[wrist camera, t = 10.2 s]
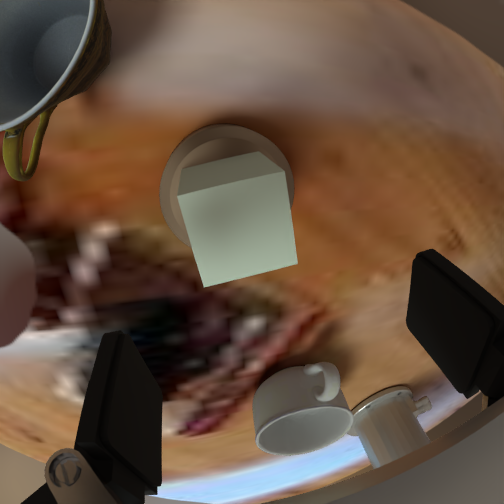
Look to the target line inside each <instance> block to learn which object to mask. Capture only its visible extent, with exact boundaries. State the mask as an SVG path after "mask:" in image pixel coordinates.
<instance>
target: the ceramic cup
mask: <svg viewBox="0 0 504 504" xmlns="http://www.w3.org/2000/svg"><path fill="white" fill-rule="evenodd" d="M110 44H111V28H110V25H109V22H108V18H107V15H106V11H105V8H104V0H0V131H5V130H6V132H5V136H4V141H3V158H4V162H5V166H6V169H7V171H8V173H9V174H10V176H11V177H12V178H14V179H15V180H18V181H27V180H29V179H30V178H31V177H32V176H33V175H34V173H35V170H36V168H37V164H38V160H39V155H40V150H41V145H42V140H43V137H44V134H45V131H46V128H47V126H48V122H49V119H50V116H51V114H52V112H53V110H54V109H55V108H56V107H57V104H59V103H60V102H62V101H64V100H66V99H69V98H71V97H72V96H74V95H77V94H79V93H81V92H84V91H86V90H87V88H88V87H89V86H90V85H91V84H92V83H93V81H94V80H95V79H96V78H97V77H98V76H99V75H100V73H101V72H102V71H103V70H104V69H105V68H106V67H107V65H108V64H109V62H110ZM39 114H40V123H39V127H38V129H37V131H36V134H35V137H34V140H33V145H32V149H31V154H30V159H29V163H28V167H27V170H26V172H25V173H24V171H23V167H22V147H23V137H24V132H25V130H26V128H27V126H28V125H29V124H30V123H31V122H32V121H33V120H34V119H35V118H36V117H37V116H38V115H39Z"/></svg>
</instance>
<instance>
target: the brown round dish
mask: <svg viewBox="0 0 504 504" xmlns="http://www.w3.org/2000/svg"><path fill="white" fill-rule="evenodd" d="M258 151H259V152H261V153H262V154H263V155H265V156H266V157H267V158H268V159H270V160H271V161H272V162H274V163H275V164H276V165H278V166H279V167H280V168H281V169H283V170H284V171H285V176H286V183H287V189H288V196H289V203H290V210H291V207H292V204H293V198H294V180H293V175H292V171H291V168H290V166H289V163H288V162H287V160H286V158H285V156H284V155H283V153H282V152H281V151H280V149H279V148H278V147H277V146H276V145H275V144H274V143H272V142H271V141H270V140H269V139H267V138H266V137H264V136H262V135H260V134H259V133H257V132H254V131H252V130H250V129H248V128H245V127H243V126H239V125H235V124H214V125H209V126H206V127H203V128H200V129H198V130H196V131H194V132H193V133H191V134H189V135H188V136H187V137H186V138H184V139H183V140H182V141H181V142H180V143H179V144H178V145H177V147H176V148H175V149H174V151H173V152H172V154H171V156H170V158H169V160H168V162H167V165H166V167H165V169H164V172H163V175H162V178H161V183H160V194H159V196H160V205H161V209H162V213H163V216H164V218H165V221H166V222H167V224H168V226H169V228H170V229H171V230H172V232H173V233H174V234H175V235H176V236H177V237H178V238H179V239H180V240H181V241H182V242H183V243H185V244H186V245H187V246H189V247H191V248H192V246H191V243H190V240H189V236H188V233H187V229H186V226H185V223H184V219H183V216H182V212H181V208H180V205H179V201H178V198H177V193H178V187H179V181H180V175H181V169H184V168H188V167H192V166H196V165H200V164H204V163H208V162H212V161H217V160H221V159H225V158H230V157H234V156H239V155H243V154H248V153H253V152H258Z"/></svg>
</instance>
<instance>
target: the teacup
mask: <svg viewBox="0 0 504 504" xmlns="http://www.w3.org/2000/svg"><path fill="white" fill-rule="evenodd" d="M253 418H254V426H255V433H256V437H255V441H256V444H257V446H258V447H259V449H261V450H262V451H264V452H266V453H269V454H274V455H285V456H291V455H299V454H305V453H309V452H312V451H315V450H319V449H321V448H324V447H326V446H328V445H330V444H332V443H334V442H335V441H337V440H338V439H340V438H341V437H343V436H344V435H345V434H346V433H347V432H348V431H349V430H350V428H351V426H352V425H353V422H354V416H353V413H352V412H351V411H350V409H349V407H348V404H347V402H346V399H345V397H344V395H343V393H342V390H341V388H340V375H339V371H338V369H337V368H336V366H335V365H334V364H332V363H329V362H318V363H315V364H307V365H305V366H295V367H290V368H286V369H283V370H281V371H279V372H277V373H275V374H273V375H272V376H271V377H269V378H268V379H267V380H265V381H264V382H263V383H262V384H261V385H260V387H259V388H258V389H257V391H256V393H255V395H254V399H253Z"/></svg>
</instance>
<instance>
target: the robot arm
mask: <svg viewBox="0 0 504 504" xmlns="http://www.w3.org/2000/svg"><path fill="white" fill-rule="evenodd" d="M406 324H407V327H408V329H409V330H410V332H411V333H412V334H413V335H414V336H415V338H416V339H417V340H418V341H419V343H420V344H421V345H422V346H423V348H424V349H425V350H426V351H427V353H428V354H429V355H430V356H431V358H432V359H433V360H434V361H435V363H436V364H437V365H438V367H439V368H440V369H441V370H442V372H443V373H444V374H445V376H446V377H447V378H448V379H449V381H450V382H451V383H452V385H453V386H454V387H455V389H456V390H457V391H458V392H459V393H463V394H464V396H465V397H466V398H467V399H468V398H470V397H471V396H473V395H475V394H476V393H478V392H479V390H481V392H482V393H483V403H482V412H480V413H479V414H477V415H476V416H474V417H473V418H471V419H470V420H468V421H467V422H465V423H463V424H462V425H460V426H459V427H457V428H455V429H454V430H452V431H450V432H449V433H447V434H445V435H443V436H442V437H440V438H438V439H436V440H434V441H433V442H430V440H429V438H428V437H427V435H426V433H425V432H424V430H423V428H422V427H421V425H420V423H419V422H418V420H417V416H418V415H419V414H421V413H424V412H426V411H428V410H430V409H431V408H432V405H431V402H430V401H429V400H428V397H427V396H425V397H423V398H421V399H419V400H418V401H412V398H413V394H412V392H411V391H410V389H409V388H407V387H404V386H397V387H392V388H389V389H386V390H383V391H381V392H379V393H377V394H375V395H373V396H371V397H369V398H368V399H366V400H365V401H363V402H362V403H361V404H359V405H358V406H357V407H356V408H354V409H353V410H352V411H351V412H352V413H353V416H354V422H353V425H352V426H351V428H350V430H349V431H348V432H347V434H348V435H351V436H358V437H359V439H360V441H361V443H362V445H363V447H364V450H365V452H366V454H367V456H368V458H369V460H370V463H371V465H372V467H373V469H374V470H371V471H369V472H366V473H364V474H361V475H358V476H356V477H353V478H350V479H348V480H345V481H342V482H339V483H336V484H333V485H330V486H327V487H324V488H320V489H317V490H314V491H310V492H307V493H303V494H300V495H296V496H292V497H288V498H284V499H280V500H276V501H271V502H266V503H262V504H504V305H503V304H501V303H500V302H499V301H498V300H497V299H496V298H495V297H493V296H492V295H491V294H490V293H489V292H487V291H486V290H485V289H484V288H483V287H481V286H480V285H479V284H478V283H477V282H475V281H474V280H473V279H472V278H470V277H469V276H468V275H467V274H465V273H464V272H463V271H462V270H460V269H459V268H458V267H457V266H455V265H454V264H453V263H451V262H450V261H449V260H448V259H446V258H445V257H444V256H442V255H441V254H440V253H438V252H437V251H436V250H434V249H429V250H425V251H422V252H419V253H418V254H417V255H416V258H415V259H414V260H413V263H412V275H411V285H410V294H409V302H408V310H407V317H406ZM45 479H46V483H45V484H44V485H43V486H41V487H40V488H39V489H38V490H37V491H35V492H34V493H33V494H32V495H31V496H29V497H28V498H27V499H26V500H24V501H23V502H22V503H21V504H144V503H145V495H157V486H161V484H162V392H161V389H160V387H159V385H158V384H157V382H156V381H155V379H154V377H153V376H152V374H151V372H150V371H149V369H148V367H147V365H146V364H145V362H144V360H143V359H142V357H141V355H140V353H139V352H138V350H137V348H136V346H135V344H134V342H133V341H132V339H131V337H130V335H128V334H124V333H123V332H122V331H115V332H110V333H105V334H104V335H103V337H102V340H101V343H100V346H99V350H98V353H97V357H96V360H95V364H94V367H93V371H92V375H91V379H90V381H89V383H88V387H87V391H86V395H85V399H84V404H83V408H82V412H81V417H80V421H79V426H78V430H77V435H76V440H75V446H74V449H70V448H65V449H60V450H59V451H57V452H55V453H54V454H53V455H52V456H51V457H50V458H49V460H48V461H47V463H46V467H45Z"/></svg>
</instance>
